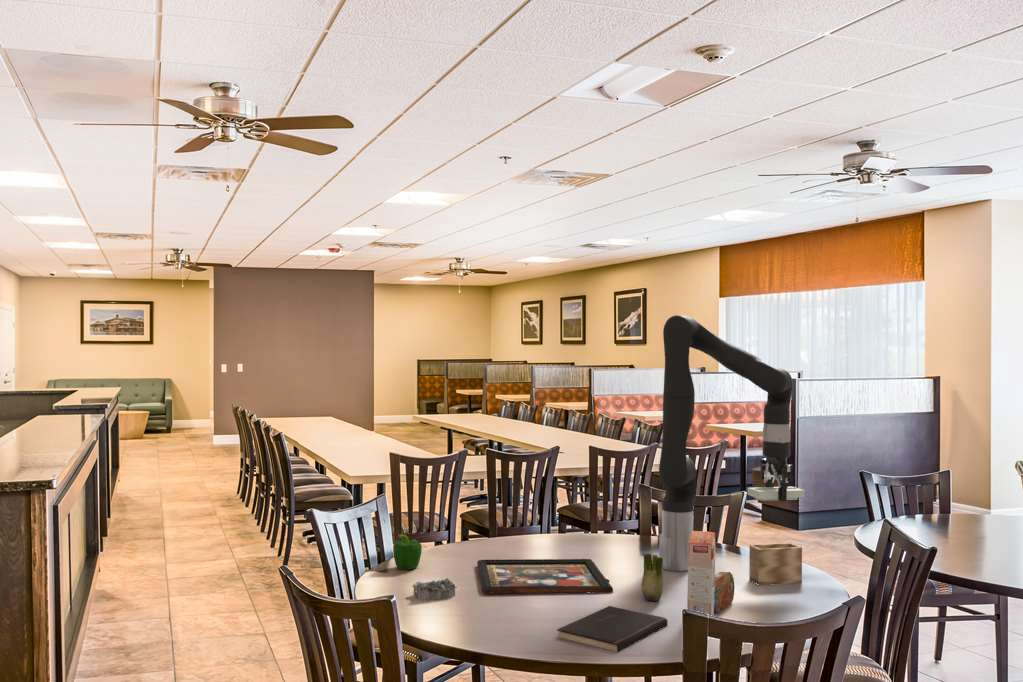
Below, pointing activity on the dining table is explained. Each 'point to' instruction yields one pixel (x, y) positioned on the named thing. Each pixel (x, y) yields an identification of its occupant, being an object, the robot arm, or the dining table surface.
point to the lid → (774, 493)
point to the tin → (723, 591)
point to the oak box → (775, 563)
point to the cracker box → (701, 572)
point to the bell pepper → (407, 553)
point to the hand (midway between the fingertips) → (775, 498)
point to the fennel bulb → (652, 577)
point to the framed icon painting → (541, 576)
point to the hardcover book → (612, 628)
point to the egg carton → (434, 590)
